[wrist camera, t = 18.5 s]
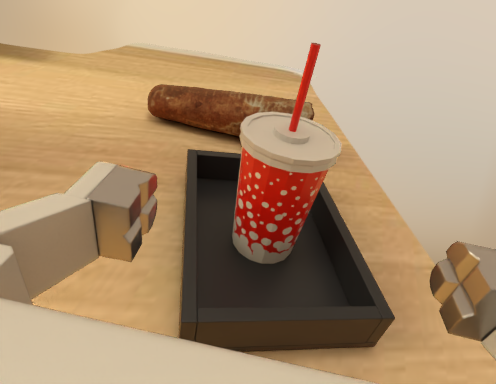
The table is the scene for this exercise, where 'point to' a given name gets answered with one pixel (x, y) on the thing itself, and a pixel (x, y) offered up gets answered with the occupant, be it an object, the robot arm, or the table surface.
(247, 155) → the beverage cup
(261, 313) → the tray
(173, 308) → the table surface
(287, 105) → the bread
